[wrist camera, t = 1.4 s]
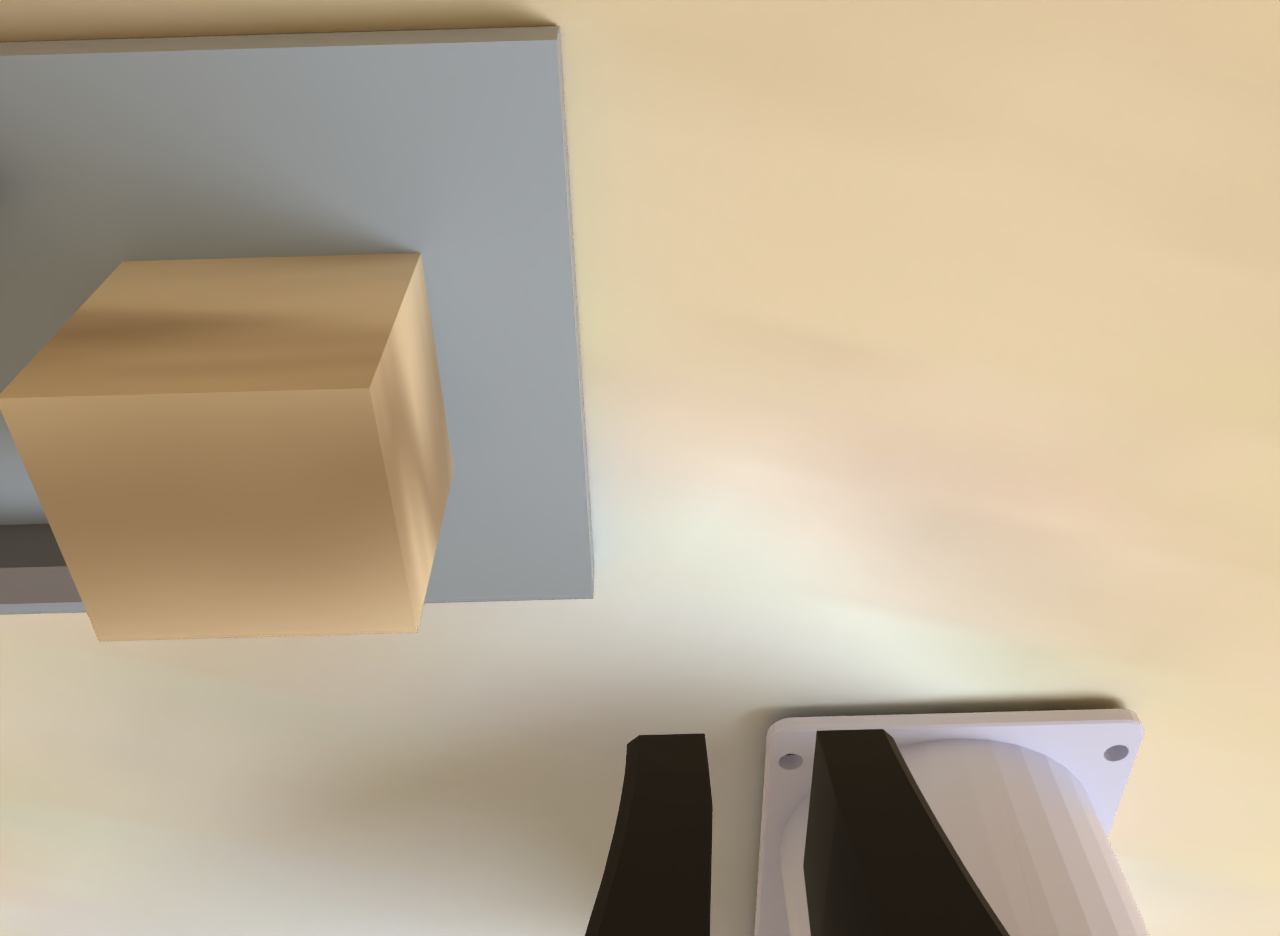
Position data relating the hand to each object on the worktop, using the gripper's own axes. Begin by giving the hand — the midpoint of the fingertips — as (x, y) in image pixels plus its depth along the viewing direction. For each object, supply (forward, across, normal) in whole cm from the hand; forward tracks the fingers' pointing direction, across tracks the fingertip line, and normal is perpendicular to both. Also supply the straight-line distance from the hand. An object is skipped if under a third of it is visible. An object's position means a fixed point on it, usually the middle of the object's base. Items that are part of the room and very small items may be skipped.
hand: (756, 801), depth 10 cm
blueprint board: (+9, +10, 0) cm, 13 cm away
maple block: (+9, +6, 0) cm, 11 cm away
